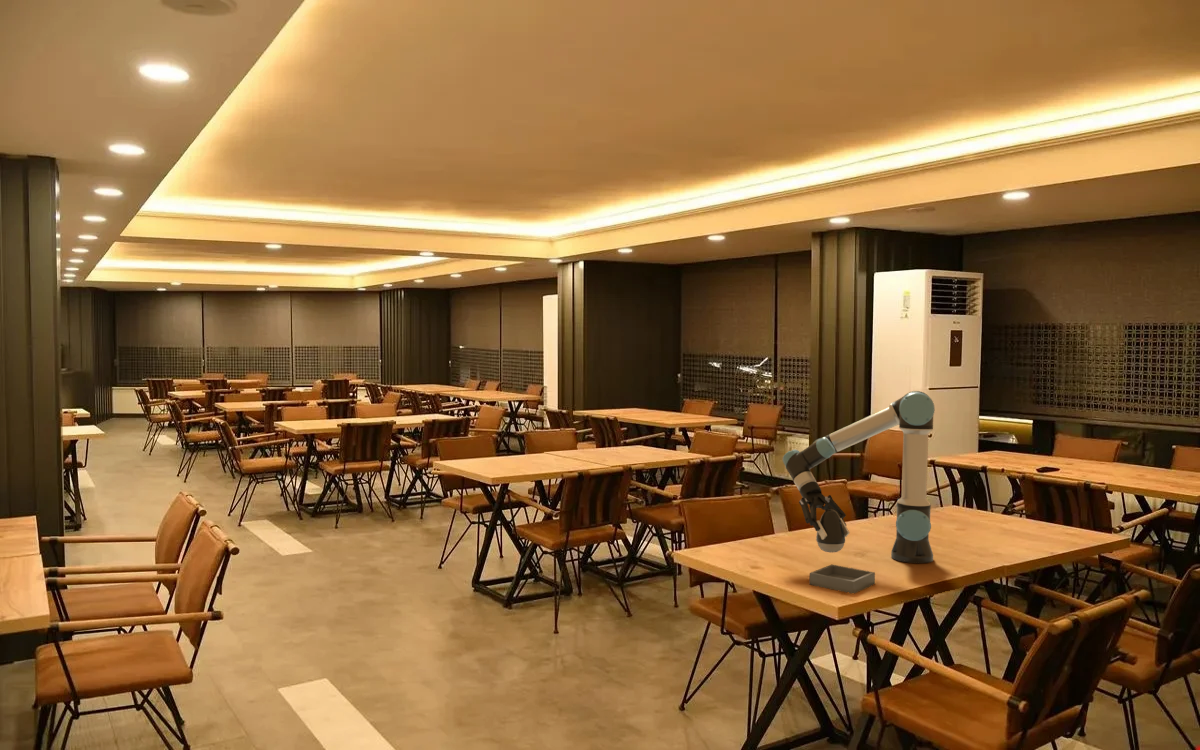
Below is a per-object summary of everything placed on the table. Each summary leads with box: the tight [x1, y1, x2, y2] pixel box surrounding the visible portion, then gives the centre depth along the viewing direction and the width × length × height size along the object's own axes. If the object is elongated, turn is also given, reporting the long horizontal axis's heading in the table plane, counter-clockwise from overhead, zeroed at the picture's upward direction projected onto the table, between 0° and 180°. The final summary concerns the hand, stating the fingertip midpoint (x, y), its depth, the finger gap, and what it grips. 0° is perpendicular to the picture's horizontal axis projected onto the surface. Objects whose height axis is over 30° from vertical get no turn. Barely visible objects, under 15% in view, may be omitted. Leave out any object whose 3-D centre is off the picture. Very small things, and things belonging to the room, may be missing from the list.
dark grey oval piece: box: [815, 509, 846, 553], centre depth 309 cm, size 10×10×15 cm
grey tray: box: [808, 564, 876, 594], centre depth 290 cm, size 16×16×4 cm
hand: (836, 536), depth 307 cm, fingers closed on dark grey oval piece, 9 cm apart
